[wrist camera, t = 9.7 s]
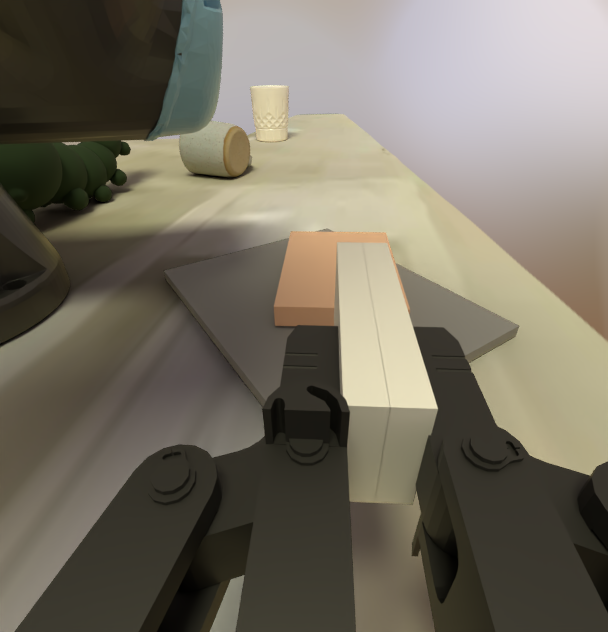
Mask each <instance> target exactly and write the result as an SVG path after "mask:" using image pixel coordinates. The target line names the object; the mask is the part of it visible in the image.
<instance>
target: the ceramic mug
mask: <svg viewBox="0 0 608 632" xmlns="http://www.w3.org/2000/svg"><path fill="white" fill-rule="evenodd" d="M179 149H180V155H181V158H182V161H183V163H184V165H185V167H186V168H187V169H188V170H189V171H190V172H192V173H195V174H204V175H213V176H221V177H237V176H239V175H241V174H242V173H243V172H244V171H245V169H246V168H247V167H250V166H251V162H252V157H251V156H250V143H249V140H248V137H247V135H246V133H245V132H244V130H243V129H242V128H240V127H238V126H235V125H233V124H229V123H222V122H216V121H210V122H209V124H208V125H207V126H206V127H204V128H203V129H201V130H200V131H197V132H195V133H189V134H181V135H180V139H179Z"/></svg>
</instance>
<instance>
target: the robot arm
mask: <svg viewBox="0 0 608 632" xmlns="http://www.w3.org/2000/svg"><path fill="white" fill-rule="evenodd" d="M222 44H223V14H222V8H221V4H220V0H0V144H25V143H56V142H87V141H118V140H144V141H153V140H155V139H157V138H158V137H163V136H172V135H181V134H189V133H195V132H197V131H200V130H201V129H203V128H204V127H206V126H207V125H208V124H209V122H210V121H211V119H212V118H213V115H214V113H215V110H216V106H217V102H218V97H219V90H220V81H221V69H222ZM69 288H70V280H69V277H68V275H67V272H66V269H65V267H64V264H63V262H62V259H61V257H60V255H59V253H58V252H57V250H56V249H55V248H54V247H53V245H52V244H51V243H50V242H49V241H48V240H47V238H46V237H45V236H44V235H43V234H42V233H41V231H40V230H39V229H38V228H37V227H36V225H35V224H34V223H33V222H32V221H31V220H30V218H29V217H28V216H27V215H26V214H25V213H24V211H23V210H22V209H21V208H20V207H19V205H18V204H17V203H16V202H15V201H14V200H13V198H12V197H11V196H10V195H9V194H8V193H7V191H6V190H5V189H4V188H3V186H2V185H1V183H0V343H2V342H4V341H7V340H9V339H10V338H12V337H14V336H16V335H18V334H20V333H22V332H23V331H25V330H27V329H29V328H30V327H32V326H33V325H35V324H36V323H38V322H39V321H41V320H42V319H44V318H45V317H46V316H47V315H49V314H50V313H51V312H52V311H53V310H54V309H56V308H57V307H58V306H59V304H60V303H61V302H62V301H63V300H64V298H65V297H66V295H67V293H68V291H69ZM262 410H263V420H264V430H265V436H264V437H263V438H262V439H261V440H260V441H259V442H257V443H256V444H254V445H252V446H251V447H249V448H246V449H243V450H240V451H238V452H234V453H230V454H226V455H222V456H218V457H214V458H212V457H211V456H210V455H209V453H208V452H207V451H205V450H203V449H201V448H199V447H197V446H193V445H176V446H172V447H167V448H163V449H162V450H160V451H158V452H156V453H154V454H153V455H151V456H149V457H148V458H147V459H146V460H145V461H144V462H143V463H142V464H141V465H140V466H139V467H138V468H137V469H136V470H135V471H134V472H133V473H132V475H131V476H130V477H129V479H128V480H127V482H126V483H125V484H124V486H123V487H122V488H121V490H120V491H119V492H118V494H117V495H116V496H115V498H114V499H113V500H112V502H111V503H110V504H109V506H108V507H107V508H106V510H105V511H104V512H103V514H102V515H101V516H100V518H99V519H98V520H97V522H96V523H95V524H94V526H93V527H92V528H91V530H90V531H89V533H88V534H87V535H86V537H85V538H84V539H83V541H82V542H81V543H80V545H79V546H78V547H77V549H76V550H75V551H74V553H73V554H72V555H71V557H70V558H69V559H68V561H67V562H66V563H65V565H64V566H63V567H62V569H61V570H60V571H59V573H58V574H57V575H56V577H55V578H54V579H53V581H52V582H51V584H50V585H49V586H48V588H47V589H46V590H45V592H44V593H43V594H42V596H41V597H40V598H39V600H38V601H37V602H36V604H35V605H34V606H33V608H32V609H31V610H30V612H29V613H28V614H27V616H26V617H25V618H24V620H23V621H22V622H21V624H20V625H19V626H18V628H17V629H16V630H15V632H210V629H211V627H212V624H213V622H214V619H215V617H216V614H217V612H218V609H219V607H220V605H221V602H222V600H223V597H224V595H225V592H226V590H227V587H228V585H229V582H230V580H231V579H233V578H236V577H239V576H242V575H245V577H244V583H243V589H242V595H241V602H240V608H239V614H238V620H237V626H236V632H356V625H355V604H354V583H353V561H352V540H351V519H350V502H367V503H388V504H409V505H413V501H414V497H415V493H416V490H417V495H418V500H419V505H420V510H421V515H420V519H419V522H418V525H417V529H416V532H415V536H414V539H413V542H412V556H418V554H419V551H420V550H421V555H422V561H423V566H424V572H425V577H426V583H427V588H428V594H429V599H430V605H431V611H432V616H433V622H434V627H435V632H608V462H605V463H603V464H601V465H599V466H597V467H596V468H595V470H594V471H593V473H592V474H591V476H589V475H586V474H583V473H579V472H576V471H573V470H569V469H566V468H563V467H559V466H556V465H553V464H549V463H546V462H544V461H541V460H539V459H536V458H534V457H532V456H530V455H529V454H528V452H527V451H526V450H525V448H524V447H523V445H522V444H521V443H520V441H518V440H517V439H516V438H515V437H513V436H512V435H511V434H510V433H508V432H507V431H506V430H504V429H502V428H499V427H498V426H497V425H496V423H495V421H494V419H493V416H492V414H491V412H490V410H489V407H488V405H487V403H486V401H485V399H484V396H483V394H482V392H481V390H480V388H479V385H478V383H477V381H476V379H475V376H474V374H473V373H471V368H470V365H469V363H468V361H467V359H465V354H464V352H463V350H462V348H461V345H460V343H459V341H458V340H457V339H456V338H455V337H454V336H453V335H452V334H450V333H449V332H448V331H447V330H446V329H445V328H444V327H413V326H412V322H411V319H410V316H409V312H408V309H407V306H406V303H405V299H404V296H403V293H402V290H401V286H400V283H399V280H398V277H397V273H396V270H395V267H394V263H393V260H392V257H391V254H390V250H389V247H388V244H387V243H356V242H337V255H336V279H335V303H334V326H317V325H297V326H296V328H295V329H294V330H293V331H292V332H291V334H290V335H289V336H288V337H287V343H286V349H285V356H284V363H283V369H282V376H281V383H280V387H278V388H277V389H276V390H275V391H274V392H273V393H272V394H271V395H269V396H268V398H267V400H266V402H265V404H264V407H263V409H262Z"/></svg>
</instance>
